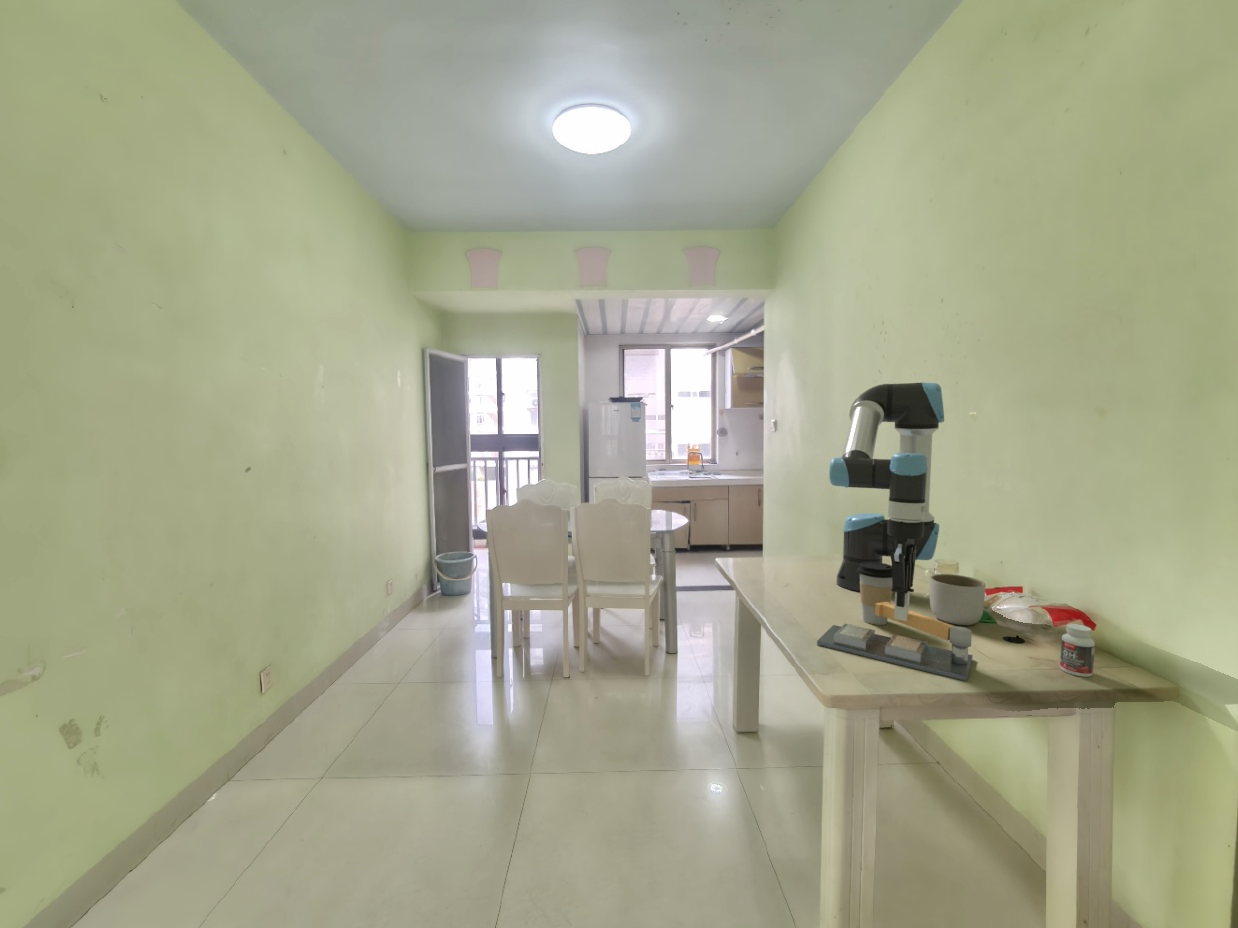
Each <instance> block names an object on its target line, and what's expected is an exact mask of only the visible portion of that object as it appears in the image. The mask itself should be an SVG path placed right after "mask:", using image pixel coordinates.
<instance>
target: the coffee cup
mask: <svg viewBox="0 0 1238 928" xmlns="http://www.w3.org/2000/svg"><path fill="white" fill-rule="evenodd" d="M857 569H858V570H857V572H858V573H859V574H860V591H859V593H860V603H861V611H862V620H863V622H865V623H867V624H871V625H877V626H884V625H886V624H887V623H888V619H889V618H886V617H884V616H877V615H875V604H876V603H881V602H886V601H887V602H890V603H891V604H892V596H893V591H891V589H892V564H887V563H884V562H882V563H879V562H863V563H861V564H860V567H858V568H857Z"/></svg>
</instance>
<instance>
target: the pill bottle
mask: <svg viewBox="0 0 1238 928" xmlns="http://www.w3.org/2000/svg"><path fill="white" fill-rule="evenodd" d="M1065 631H1066V633H1064V634H1062V636H1061V641H1060V642H1061V645H1060V655H1059V657H1060V659H1059V668H1060V669H1061V670H1062V671H1063V672H1065V673H1067V674H1069V675H1073V676H1078V677H1081V678H1082V677H1084V678H1088V677H1091V676H1093V673H1094V662H1095V661H1094V660H1095V647H1096V642H1095V640H1094V639H1093V638H1091V637H1092V629H1091V628H1090V627H1089V626H1085V625H1082V624H1076V623H1067V625H1066V629H1065Z"/></svg>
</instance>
